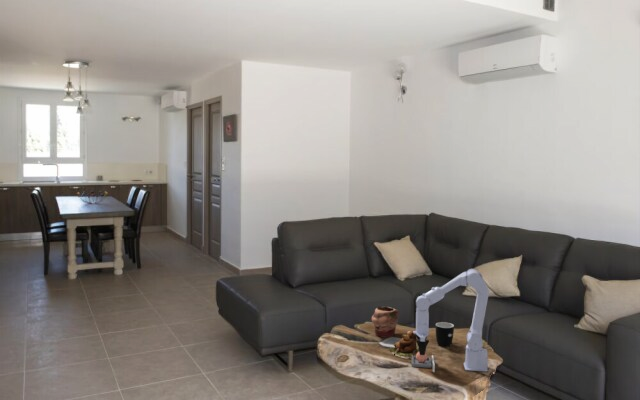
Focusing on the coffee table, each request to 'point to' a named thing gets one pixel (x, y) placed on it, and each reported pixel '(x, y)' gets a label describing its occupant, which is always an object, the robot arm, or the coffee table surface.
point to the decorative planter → (385, 321)
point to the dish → (419, 364)
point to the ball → (421, 357)
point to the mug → (444, 333)
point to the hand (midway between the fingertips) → (421, 351)
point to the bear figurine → (406, 346)
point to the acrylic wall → (433, 364)
